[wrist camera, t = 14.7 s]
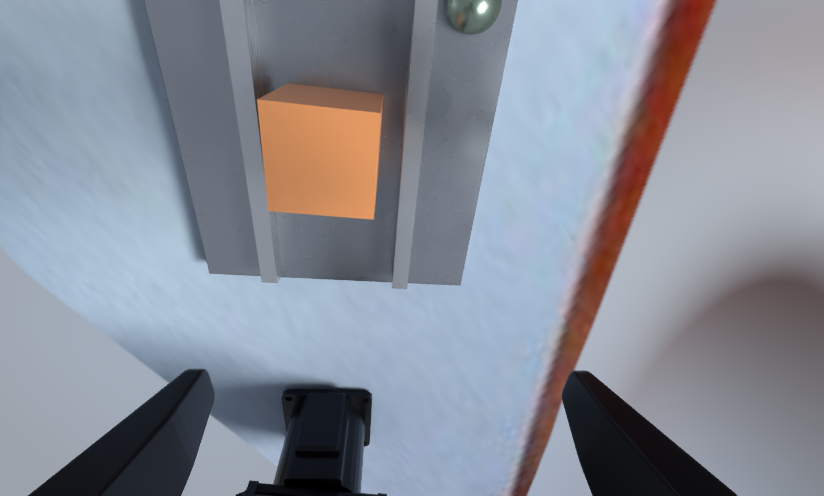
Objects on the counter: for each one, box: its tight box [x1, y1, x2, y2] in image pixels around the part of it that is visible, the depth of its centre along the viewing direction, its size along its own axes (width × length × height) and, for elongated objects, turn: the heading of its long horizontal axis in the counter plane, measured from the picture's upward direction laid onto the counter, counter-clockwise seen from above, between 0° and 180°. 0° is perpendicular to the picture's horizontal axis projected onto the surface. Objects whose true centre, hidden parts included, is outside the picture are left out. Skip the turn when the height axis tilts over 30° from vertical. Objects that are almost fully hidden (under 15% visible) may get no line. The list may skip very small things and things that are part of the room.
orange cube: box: [257, 83, 383, 220], centre depth 15 cm, size 4×4×4 cm
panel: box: [144, 0, 518, 289], centre depth 15 cm, size 20×14×2 cm
